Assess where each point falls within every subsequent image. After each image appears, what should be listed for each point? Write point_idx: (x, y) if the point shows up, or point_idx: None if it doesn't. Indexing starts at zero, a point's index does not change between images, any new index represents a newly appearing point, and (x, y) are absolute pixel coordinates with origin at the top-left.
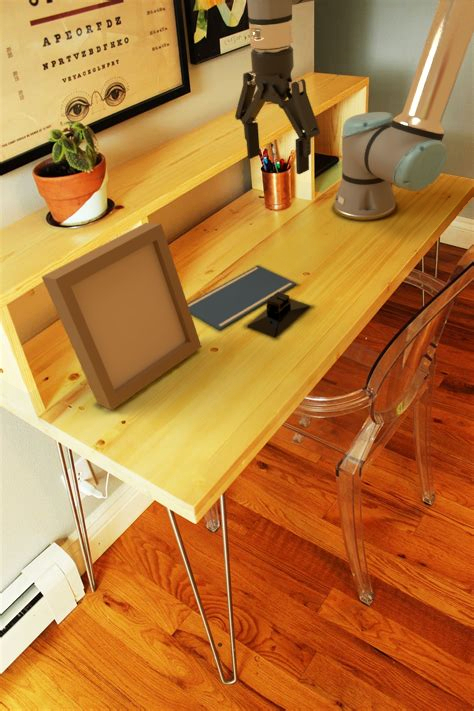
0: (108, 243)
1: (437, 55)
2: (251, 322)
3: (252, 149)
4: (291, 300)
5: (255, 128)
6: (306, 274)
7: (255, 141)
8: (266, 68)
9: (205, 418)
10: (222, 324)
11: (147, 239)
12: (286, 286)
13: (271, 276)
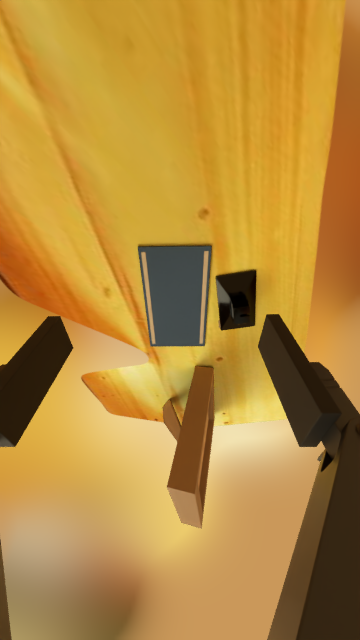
0: (177, 505)
1: None
2: (221, 325)
3: (58, 357)
4: (231, 277)
5: (7, 403)
6: (204, 214)
7: (39, 362)
8: None
9: (263, 393)
10: (202, 341)
11: (197, 491)
12: (206, 260)
13: (173, 255)
